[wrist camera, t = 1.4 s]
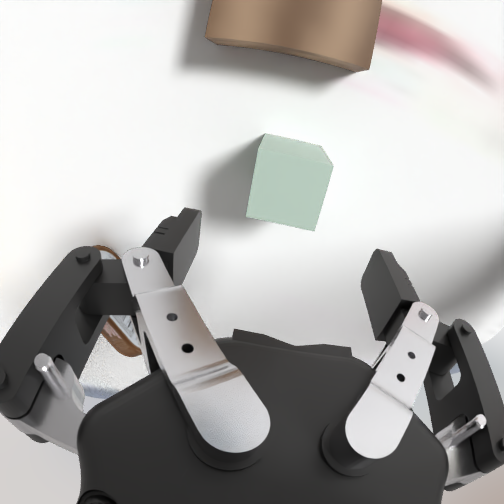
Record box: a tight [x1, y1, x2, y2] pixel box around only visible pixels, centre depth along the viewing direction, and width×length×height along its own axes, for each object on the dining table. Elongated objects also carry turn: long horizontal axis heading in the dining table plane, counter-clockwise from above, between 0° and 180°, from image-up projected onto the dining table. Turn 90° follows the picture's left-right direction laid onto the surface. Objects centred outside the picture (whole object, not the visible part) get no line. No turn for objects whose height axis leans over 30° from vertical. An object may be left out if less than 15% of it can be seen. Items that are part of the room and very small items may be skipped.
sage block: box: [246, 133, 333, 231], centre depth 22 cm, size 5×5×7 cm
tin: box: [92, 245, 142, 357], centre depth 31 cm, size 15×3×8 cm, turn 24°
